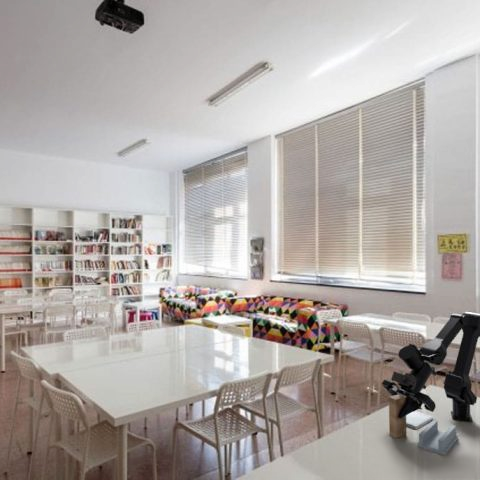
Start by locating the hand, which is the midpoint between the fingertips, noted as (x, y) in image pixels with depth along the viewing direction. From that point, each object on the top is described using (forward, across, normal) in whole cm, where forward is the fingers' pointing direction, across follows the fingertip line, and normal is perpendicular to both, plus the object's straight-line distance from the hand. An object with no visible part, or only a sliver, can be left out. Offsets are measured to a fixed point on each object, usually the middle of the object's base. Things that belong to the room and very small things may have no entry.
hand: (394, 415), depth 133 cm
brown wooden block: (+4, 0, +6) cm, 7 cm away
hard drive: (-5, -6, +16) cm, 18 cm away
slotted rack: (-2, +10, +11) cm, 15 cm away
